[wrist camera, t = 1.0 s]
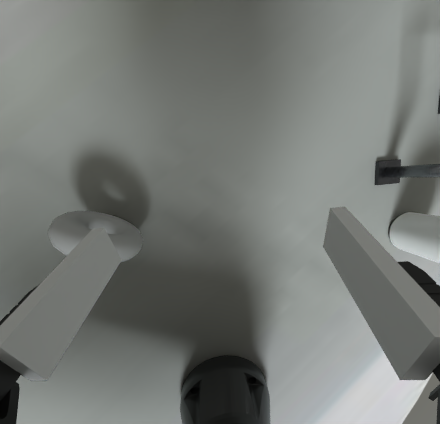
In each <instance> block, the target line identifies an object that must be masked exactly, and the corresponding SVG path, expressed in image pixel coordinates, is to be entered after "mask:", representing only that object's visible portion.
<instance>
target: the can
mask: <svg viewBox="0 0 440 424" xmlns="http://www.w3.org/2000/svg"><path fill="white" fill-rule="evenodd" d="M389 237H390V240H391V242H392V244H393V245H394V246H395V247H397V248H399V249H401V250H404V251H406V252H409V253H412V254H415V255H417V256H420V257H423V258H426V259H429V260H431V261H434V262H437V263H440V216H434V215H428V214H421V213H415V212H407V213H404V214H402V215H400V216H399V217H397V218H396V219H395V220H394V221H393V223H392V224H391V226H390V229H389Z"/></svg>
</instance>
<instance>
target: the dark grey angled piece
mask: <svg viewBox="0 0 440 424" xmlns="http://www.w3.org/2000/svg"><path fill="white" fill-rule="evenodd" d="M438 114H440V98H439V109H438ZM400 177H440V164H432V165H415V166H401V159H400V160H389V161H378V162H376V170H375V185H383V184H393V183H399V182H400Z"/></svg>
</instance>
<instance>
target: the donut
mask: <svg viewBox="0 0 440 424" xmlns="http://www.w3.org/2000/svg"><path fill="white" fill-rule="evenodd" d="M95 228H105V230H106V232H107V234H108V235H109V237H110V239H111V241H112V243H113V245H114V247H115V249H116V250H117V252H118V254H119V256H120V258H121V260H122V261H121V262H124V261H127V260H130V259H131V258H133V257H134V256H135V255H137V254H138V253H139V252H140V250H141V247H142V244H143V237H142V235H141V233H140V231H139V230H138V229H137V228H136V227H135V226H134V225H132V224H131V223H129V222H127V221H126V220H123V219H121V218H119V217H116V216H113V215H109V214H105V213H100V212H93V211H74V212H67V213H65V214H63V215H61V216H59V217H57V218H56V219H54V220H53V222H52V224H51V226H50V228H49V230H48V236H49V238H50V241H51V243H52V245H53V246H54V247H55V248H56V249H57V250H59V251H60V252H61V253H63V254H64V255H66V256H67V255H68V254H69V253H70V252H71V251H72V250H73V249H74V248H75V247H76V246H77V245H78V244H79V243H80V242H81V241H82V240H83V238H84V237H85V236H86V235H87V234H88V233H89V232H90V231H91V230H92V229H95Z"/></svg>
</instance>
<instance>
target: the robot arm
mask: <svg viewBox="0 0 440 424" xmlns="http://www.w3.org/2000/svg"><path fill="white" fill-rule="evenodd" d="M323 247H324V249H325V251H326V252H327V254H328V256H329V257H330V259H331V261H332V263H333V264H334V266H335V268H336V270H337V271H338V273H339V275H340V277H341V278H342V280H343V282H344V283H345V285H346V287H347V289H348V290H349V292H350V294H351V296H352V297H353V299H354V301H355V303H356V304H357V306H358V308H359V309H360V311H361V313H362V315H363V316H364V318H365V320H366V322H367V323H368V325H369V327H370V329H371V330H372V332H373V334H374V335H375V337H376V339H377V341H378V342H379V344H380V346H381V348H382V349H383V351H384V353H385V354H386V356H387V358H388V360H389V361H390V363H391V365H392V367H393V368H394V370H395V372H396V374H397V375H398V377H399V379H400V380H426V379H427V378H428V377H429V376H430V374H431V373H432V372H433V373H434V374H435V375H436V377H437V378H438V380H439V381H440V286H439V285H437V284H436V282H435V281H434V280H433V279H432V278H431V277H430V276H429V275H428V274H427V273H426V272H424V271H423V270H422V269H420V268H418V267H417V266H415V265H413V264H412V263H410V262H408V261H407V262H397V261H396V260H395V259H394V258H393V257H392V256H391V255H390V254H389V253H388V252H387V251H386V250H385V249H384V248H383V247H382V246H381V244H380V243H379V242H378V241H377V240H376V239H375V238H374V237H373V236H372V235H371V234H370V233H369V232H368V231H367V230H366V229H365V228H364V226H363V225H362V224H361V223H360V222H359V221H358V220H357V219H356V218H355V217H354V216H353V215H352V214H351V213H350V212H349V211H348V210H347V208H346V207H337V208H330V211H329V217H328V222H327V228H326V233H325V239H324V245H323ZM121 261H122V260H121V258H120V256H119V254H118V252H117V250H116V249H115V247H114V245H113V243H112V241H111V239H110V237H109V235H108V234H107V232H106V230H105V228H95V229H92V230H91V231H90V232H89V233H88V234H87V235H86V236H85V237H84V238H83V240H82V241H81V242H80V243H79V244H78V245H77V246H76V247H75V248H74V249H73V250H72V251H71V252H70V253H69V254H68V255H67V256H66V257H65V258H64V259H63V260H62V262H61V263H60V264H59V265H58V266H57V267H56V268H55V269H54V270H53V271H52V272H51V273H50V274H49V275H48V276H47V277H46V278H45V279H44V280H43V281H42V282H41V284H39V285H38V286H37V287H35V288H34V289H33V290H31V291H30V292H29V293H27V294H26V296H25V297H24V298H23V299H22V300H21V301H20V302H19V303H18V305H16V306H15V307H14V308H13V309H12V310H11V311H10V313H9V314H7V315H6V316H5V317H4V318H3V319H2V320H1V321H0V424H16V419H17V409H18V399H19V389H20V388H19V384H18V383H17V382H16V381H17V379H18V378H19V376H20V375H22V376H24V377H25V378H27V379H28V380H30V381H48V379H49V377H50V376H51V374H52V373H53V371H54V369H55V368H56V366H57V364H58V363H59V361H60V360H61V358H62V356H63V355H64V353H65V351H66V350H67V348H68V347H69V345H70V343H71V342H72V340H73V338H74V337H75V335H76V334H77V332H78V330H79V329H80V327H81V326H82V324H83V322H84V321H85V319H86V317H87V316H88V314H89V313H90V311H91V309H92V308H93V306H94V304H95V303H96V301H97V300H98V298H99V296H100V295H101V293H102V291H103V290H104V288H105V287H106V285H107V283H108V282H109V280H110V279H111V277H112V275H113V274H114V272H115V270H116V269H117V267H118V266H119V264H120V262H121ZM437 397H438V406H437V424H440V385H439V386H437V387H436V388H435V389H434V390H433V391H432V392H431V393H430V396H429V399H431V400H432V401H434V400H435V399H436V398H437ZM180 412H181V419H182V424H270V397H269V391H268V388H267V385H266V381H265V378H264V376H263V374H262V372H261V371H260V369H259V368H258V367H257V366H256V365H255V364H253V363H252V362H250V361H248V360H246V359H244V358H240V357H235V356H222V357H217V358H213V359H210V360H208V361H206V362H204V363H202V364H200V365H199V366H198V367H196V368H195V369H194V370H193V371H192V372H191V373H190V374H189V376H188V377H187V379H186V380H185V382H184V385H183V388H182V393H181V404H180Z"/></svg>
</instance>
